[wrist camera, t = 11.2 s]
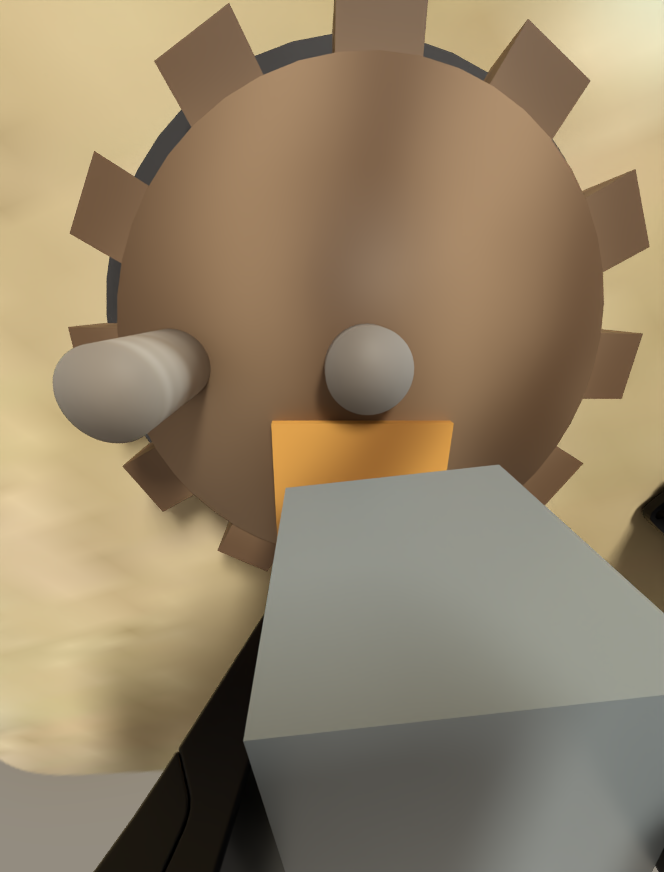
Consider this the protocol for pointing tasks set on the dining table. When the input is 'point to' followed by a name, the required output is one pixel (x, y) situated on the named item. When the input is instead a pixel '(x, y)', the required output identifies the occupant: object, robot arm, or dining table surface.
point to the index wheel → (350, 273)
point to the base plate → (267, 64)
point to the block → (454, 686)
